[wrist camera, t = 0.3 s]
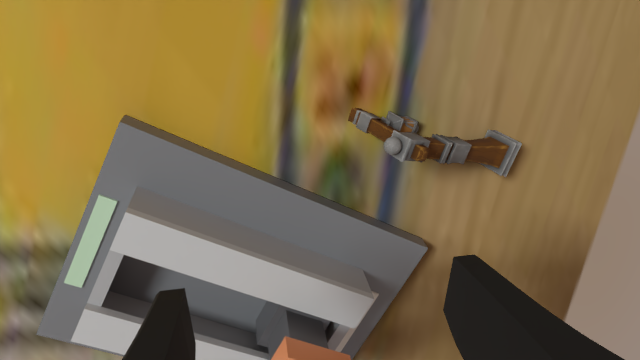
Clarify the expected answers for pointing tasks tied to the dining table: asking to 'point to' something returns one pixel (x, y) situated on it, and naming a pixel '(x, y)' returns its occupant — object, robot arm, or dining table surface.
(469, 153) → the wooden post with brackets
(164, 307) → the robot arm
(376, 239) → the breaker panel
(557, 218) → the dining table surface
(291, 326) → the toggle
